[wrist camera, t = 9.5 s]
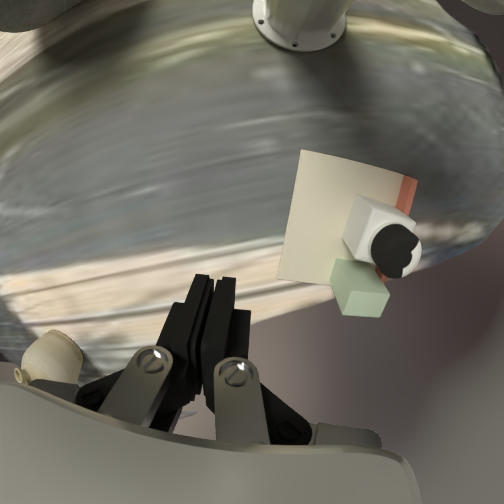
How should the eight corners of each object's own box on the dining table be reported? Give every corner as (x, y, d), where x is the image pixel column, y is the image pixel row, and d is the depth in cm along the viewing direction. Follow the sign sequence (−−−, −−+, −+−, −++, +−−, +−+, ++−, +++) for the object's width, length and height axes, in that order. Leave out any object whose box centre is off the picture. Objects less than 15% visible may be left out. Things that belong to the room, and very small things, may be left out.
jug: (35, 319, 52) (-14, 384, 30) (77, 331, 52) (27, 412, 30) (55, 359, 59) (18, 421, 36) (95, 372, 59) (61, 446, 36)
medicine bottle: (340, 237, 40) (365, 280, 29) (355, 193, 36) (390, 222, 26) (379, 247, 40) (412, 289, 29) (395, 206, 37) (436, 238, 26)
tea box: (335, 257, 41) (351, 290, 33) (370, 262, 41) (391, 294, 33) (329, 279, 43) (342, 314, 35) (362, 283, 43) (380, 317, 35)
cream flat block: (301, 149, 34) (304, 151, 32) (409, 176, 35) (419, 181, 32) (276, 278, 43) (277, 288, 40) (373, 289, 44) (379, 299, 41)
